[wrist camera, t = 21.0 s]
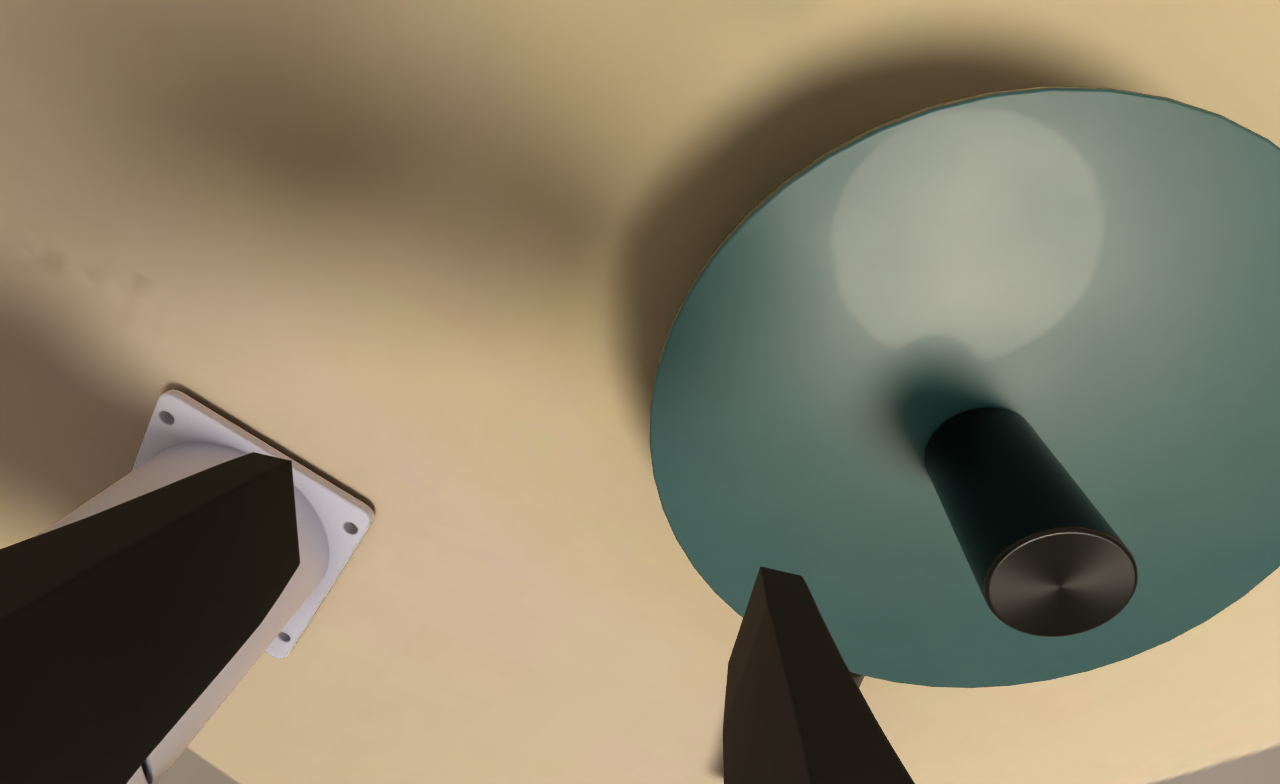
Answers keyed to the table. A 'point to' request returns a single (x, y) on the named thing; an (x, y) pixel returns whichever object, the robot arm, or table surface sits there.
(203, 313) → the table surface
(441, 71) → the table surface
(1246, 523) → the tin lid
